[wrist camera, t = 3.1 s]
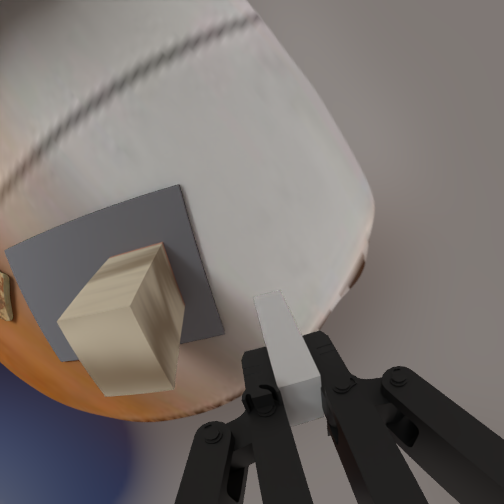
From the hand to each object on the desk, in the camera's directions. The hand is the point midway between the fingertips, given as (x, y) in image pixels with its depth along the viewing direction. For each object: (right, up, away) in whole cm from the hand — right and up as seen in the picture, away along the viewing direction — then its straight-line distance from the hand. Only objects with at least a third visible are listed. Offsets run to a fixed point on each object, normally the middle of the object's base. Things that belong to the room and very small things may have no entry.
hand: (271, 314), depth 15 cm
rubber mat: (-15, 0, +8) cm, 17 cm away
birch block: (-10, +1, +8) cm, 13 cm away
